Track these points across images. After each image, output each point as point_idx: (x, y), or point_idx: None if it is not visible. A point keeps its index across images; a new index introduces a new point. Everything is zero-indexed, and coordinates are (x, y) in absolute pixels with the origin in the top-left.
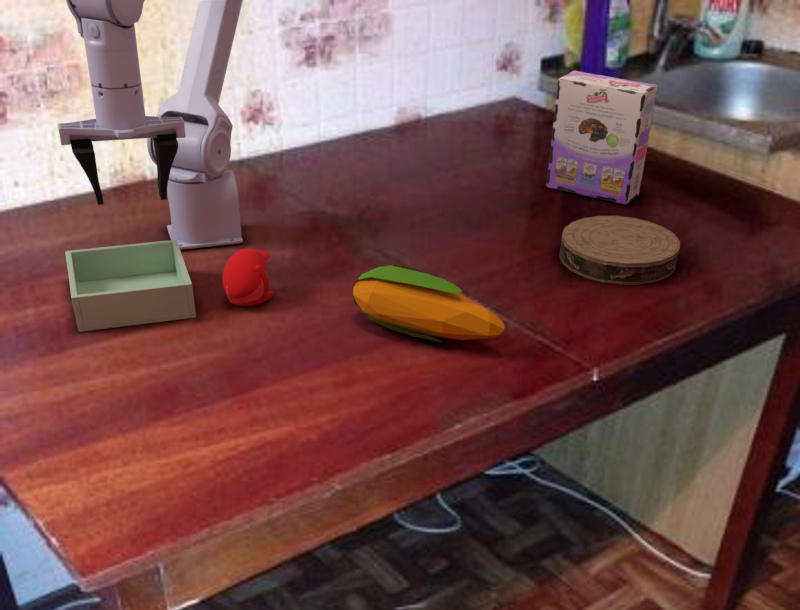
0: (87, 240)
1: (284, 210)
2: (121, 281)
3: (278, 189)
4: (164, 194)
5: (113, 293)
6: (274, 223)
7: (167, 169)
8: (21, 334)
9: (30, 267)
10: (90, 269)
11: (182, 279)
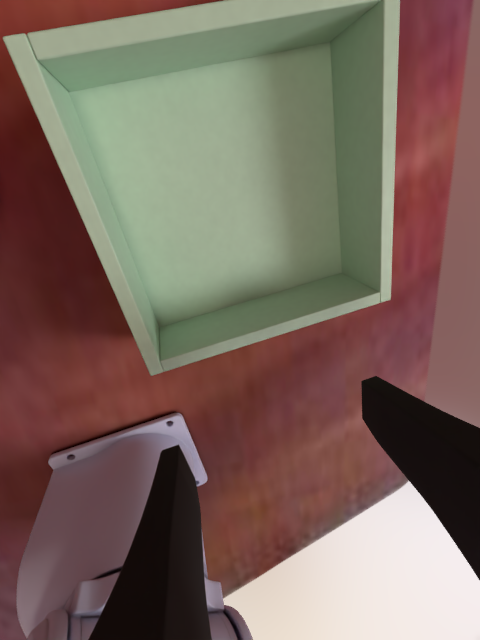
0: (324, 424)
1: (11, 570)
2: (262, 278)
3: None
4: (165, 462)
5: None
6: (12, 531)
7: (129, 580)
8: (446, 36)
9: (404, 333)
10: (326, 287)
11: (92, 180)
